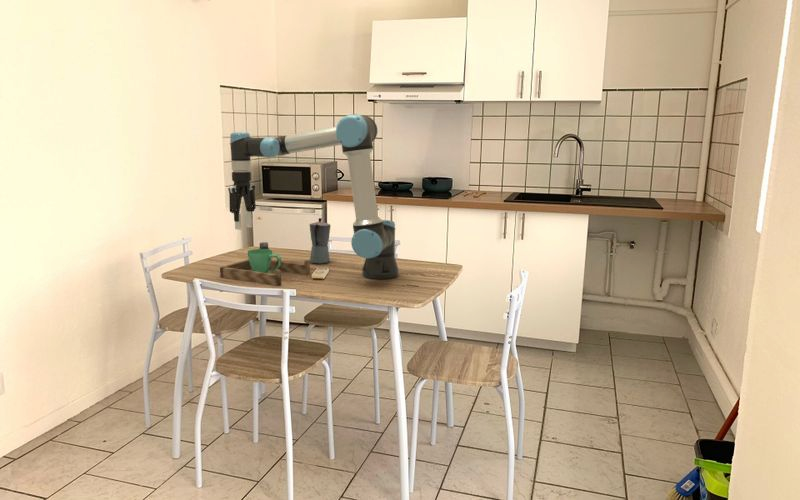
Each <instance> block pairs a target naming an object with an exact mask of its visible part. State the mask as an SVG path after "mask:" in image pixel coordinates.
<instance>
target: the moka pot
mask: <svg viewBox="0 0 800 500" xmlns="http://www.w3.org/2000/svg"><path fill="white" fill-rule="evenodd" d="M309 231H310V240H311V251H310V256H309V258H310V259H309V260H310V264H311V263H312V264H328V263H330V261H331V260H330V251H329V240H330V233H331V224H330V223H327V222H324V221H323V219H322V218H321V217H319V218H318V221H316V222H311V223H309Z"/></svg>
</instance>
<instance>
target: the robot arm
mask: <svg viewBox="0 0 800 500" xmlns="http://www.w3.org/2000/svg"><path fill="white" fill-rule="evenodd" d="M229 136H230V139H229V140H230V141H229V142H230V143H229V145H230V157H231V158H230V161H231V171H232V172H231V180H232V182H233V185H232V187H228V188H227V190H228V194H229V195H228V197H229V212H230V213H231V214H233V221H234V230H240V231H242V229H243V228H242V213H240V211H241V205H242V199H243V202H244V206H245V210H246V211H244V215H245V216H244V218H245V228H253V212H255V210H256V208H257V207H256V197H255V196H256V195H255V190H256V186H255V185H251V183H250V182H251V181H252V172H251V170H252V165H251V157H257V158H258V157H261V158H275V157H277V156H278V157H282V156H286V155H289V154H290V155H291V154H294V153H295V154H296V153H301V152H306V151H313V150H320V149H325V148H330V147H336V146H341V149H342V154H343V155H345V157H347V163H348V164H347V165H348V170H349V171H348V172H349V177H350V178H349V179H350V185H351V193H352V199H353V207H354V213H355V221H353V223H352V230H353V235H352V237H351V242H350V243H351V248H352V250H353V251H354V253H355V254H356V255H357V256H358V257H360V258H362V259H364V263H363V266H362V270H361V271H362V273H361V274H362V277H365V278H367V279H371V280H372V279H374V280H387V279H394V278H397V277H398V276H399V275H400V271H399V270H400V269H399V266H398V263H397V260H396V257H395V256H396V254H395V253H396V250H395V249H396V248H395V247H396V243H395V242H396V224H395V222H394V221H393V220H389V219H388V220H387V219H386V220H385V219H382V218H381V217H379V213H378V212H379V211H378V206H377V205H378V204H377V198H376V191H375V183H374V176H373V167H372V160H371V154H372V152H373V150H374V146H373V145H374V143H373V142H375V140H376V138H377V136H378V125H377V123H376V122H375V120H374V119H373V118H371V117H370V116H368V115H363V114H362V115H361V114H356V113H355V114H347V115H345V116H343V117H341V119H339V121H338V123H337V125H336V126H331V127H325V128H319V129H313V130H309V131H308V130H307V131H304V132H299V133H294V134H293V133H292V134H288V135H282V136H281V135H280V136H276V137H267V136H266V137H252V136H251V135H250V133H249V132H248V131H247V132H245V131H244V132H243V131H241V132H238V131H237V132H236V131H233V132H231V133H230V135H229Z"/></svg>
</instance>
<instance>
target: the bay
mask: <svg viewBox="0 0 800 500" xmlns="http://www.w3.org/2000/svg"><path fill="white" fill-rule="evenodd" d="M259 249H269V250H270V248H269V243H268V242H267V241H266V242H264V241H263V242H259ZM276 265H277V260H274V259H271V263H270V267H269V270H268V271H271V270H273V269H274V268H275V266H276ZM282 272H283V273H289V274H298V275H303V276H309V275H311V262H310V259H305V260H304V264H303V263H297V262H296V263H295V262H289V261H282V260H281V265H280V266H279V267H278V269H277V270H275V272H274V273H263V272H256V271H252V268H251V265H250V261H249V258H248V259H245V260H242V261H238V262H235V263H234V262H233V263H230V264H227V265H224V266H220V267H219V275H220V278H222V279H223V278H224V279H230V280H237V281H243V282H250V283H256V282H257V283H258V284H263V285H271V286H276V287H280V286H282Z"/></svg>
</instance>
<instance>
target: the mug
mask: <svg viewBox="0 0 800 500" xmlns="http://www.w3.org/2000/svg"><path fill="white" fill-rule="evenodd" d="M247 257H248V259H249V261H250V265H251V268H252V269H251V271H256V272H263V273H270V274H274V273H275V270H277V269H278V267H279V266H280V265H281V261H282V256H280V254H278V253H273V250H271V249H270V248H269V249H260V248H257V249H256V248H255V249H249V250H247ZM272 258H276V261H277V265H276V266H275V268H274V269H273V270H269V267H270V263H271V260H272Z"/></svg>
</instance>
